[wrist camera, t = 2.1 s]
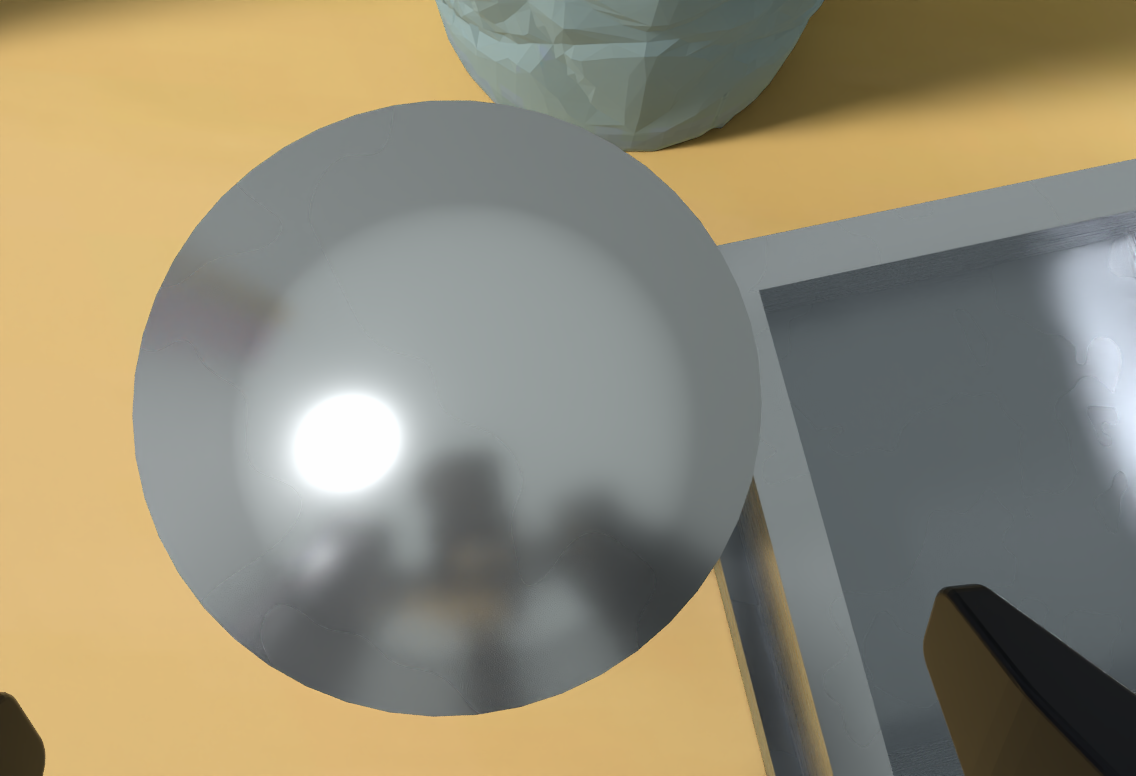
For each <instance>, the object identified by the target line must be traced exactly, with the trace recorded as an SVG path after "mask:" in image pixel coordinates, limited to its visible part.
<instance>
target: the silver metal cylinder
mask: <svg viewBox="0 0 1136 776" xmlns="http://www.w3.org/2000/svg"><path fill="white" fill-rule="evenodd" d="M761 406H762V398H761V384H760V370H759V360H758V355H757V350H756V345H755V341H754V336H753V331H752V326H751V322H750V319H749V316H748V314H747V311H746V308H745V305H744V302H743V299H742V296H741V293H740V290H739V287H738V285H737V283H736V281H735V279H734V277H733V275H732V273H731V271H730V269H729V267H728V265H727V263H726V261H725V259H724V257H723V255H722V253H721V252H720V250H719V249H718V247H717V246H716V244H715V243H714V241H713V240H712V238H711V237H710V235H709V234H708V232H707V231H706V229H705V228H704V226H703V225H702V223H701V222H700V220H699V219H698V218H697V217H696V216H695V215H694V213H693V212H692V211H691V210H690V209H689V208H688V207H687V205H686V204H685V203H684V202H683V201H682V200H681V199H680V197H679V196H678V195H677V194H676V193H675V192H674V191H673V190H672V189H671V188H670V187H669V186H668V185H666V184H665V183H664V182H663V181H662V180H661V179H660V178H659V177H657V176H656V175H655V174H654V173H653V172H652V171H651V170H650V169H648V168H647V167H646V166H645V165H643V164H642V163H640V162H639V161H637V160H636V159H635V158H633V157H632V156H630V155H629V154H627V153H626V152H624V151H623V150H621V149H620V148H619V147H617V146H616V145H614V144H612V143H610V142H608V141H606V140H604V139H602V138H601V137H599V136H597V135H595V134H593V133H591V132H589V131H587V130H585V129H583V128H581V127H579V126H576V125H573V124H571V123H568V122H565V121H563V120H560V119H557V118H555V117H552V116H549V115H547V114H543V113H539V112H535V111H531V110H527V109H522V108H518V107H514V106H510V105H503V104H495V103H486V102H478V101H426V102H418V103H410V104H402V105H394V106H390V107H386V108H382V109H378V110H374V111H370V112H366V113H362V114H358V115H354V116H352V117H349V118H346V119H344V120H341V121H338V122H336V123H333V124H331V125H328V126H325V127H323V128H320V129H318V130H316V131H314V132H312V133H310V134H308V135H307V136H305V137H303V138H301V139H299V140H297V141H295V142H293V143H291V144H290V145H288V146H286V147H284V148H282V149H281V150H280V151H278V152H277V153H275V154H274V155H272V156H271V157H270V158H268V159H267V160H265V161H264V162H262V163H261V164H260V165H258V166H257V167H255V168H254V169H252V170H251V171H250V172H249V173H248V174H247V175H246V176H244V177H243V178H242V179H241V180H240V181H239V182H238V183H237V184H236V185H234V186H233V187H232V188H231V189H230V190H229V191H228V192H227V193H226V194H224V195H223V196H222V197H221V198H220V200H219V201H218V202H217V203H216V204H215V205H214V207H213V208H212V209H211V210H210V211H209V212H208V213H207V215H206V216H205V217H204V218H203V219H202V220H201V222H200V223H199V224H198V225H197V226H196V227H195V229H194V231H193V232H192V234H191V235H190V237H189V238H188V240H187V241H186V243H185V244H184V246H183V247H182V249H181V250H180V252H179V253H178V255H177V256H176V258H175V259H174V261H173V263H172V265H171V267H170V269H169V271H168V273H167V275H166V277H165V279H164V281H163V283H162V285H161V287H160V289H159V291H158V293H157V295H156V298H155V301H154V304H153V307H152V309H151V312H150V315H149V318H148V321H147V324H146V327H145V330H144V333H143V337H142V342H141V347H140V352H139V357H138V362H137V367H136V372H135V383H134V400H133V428H134V441H135V454H136V461H137V465H138V470H139V474H140V479H141V483H142V488H143V493H144V497H145V500H146V503H147V505H148V508H149V511H150V514H151V516H152V519H153V522H154V524H155V527H156V530H157V533H158V535H159V538H160V539H161V541H162V543H163V545H164V547H165V549H166V551H167V552H168V554H169V556H170V558H171V560H172V562H173V564H174V565H175V567H176V569H177V571H178V573H179V574H180V576H181V577H182V579H183V580H184V581H185V583H186V584H187V585H188V587H189V588H190V589H191V591H192V592H193V593H194V595H195V596H196V598H197V599H198V600H199V602H200V603H201V604H202V606H203V607H204V608H205V609H206V610H207V611H208V612H209V613H210V614H211V615H212V616H213V618H214V619H215V620H216V621H217V622H218V623H219V624H220V625H221V626H222V627H223V628H224V629H225V630H226V631H227V632H228V633H229V634H230V635H231V636H232V637H233V638H234V639H235V640H237V641H238V642H239V643H241V644H242V645H243V646H245V647H246V648H247V649H248V650H250V651H251V652H252V653H254V654H255V655H256V656H258V657H259V658H260V659H261V660H263V661H264V662H265V663H267V664H268V665H270V666H271V667H273V668H275V669H277V670H279V671H280V672H282V673H284V674H286V675H287V676H289V677H291V678H293V679H294V680H296V681H298V682H300V683H302V684H303V685H305V686H307V687H310V688H312V689H315V690H317V691H320V692H322V693H325V694H328V695H330V696H333V697H335V698H338V699H340V700H343V701H345V702H349V703H353V704H357V705H361V706H366V707H370V708H374V709H378V710H382V711H386V712H392V713H403V714H413V715H423V716H456V715H478V714H483V713H489V712H495V711H500V710H506V709H511V708H517V707H522V706H525V705H528V704H531V703H534V702H537V701H540V700H543V699H546V698H549V697H553V696H556V695H559V694H562V693H564V692H566V691H568V690H570V689H572V688H574V687H576V686H578V685H581V684H583V683H585V682H587V681H589V680H591V679H593V678H595V677H597V676H599V675H601V674H603V673H604V672H606V671H607V670H609V669H610V668H612V667H613V666H615V665H617V664H618V663H620V662H621V661H623V660H624V659H626V658H627V657H629V656H630V655H632V654H633V653H635V652H636V651H638V650H639V649H640V648H641V647H642V646H643V645H645V644H646V643H647V642H648V641H649V640H650V639H651V638H653V637H654V636H655V635H656V634H657V633H658V632H660V631H661V630H662V629H663V628H664V627H665V626H666V625H668V624H669V623H670V622H671V621H672V619H673V618H674V617H675V616H676V615H677V614H678V613H679V611H680V610H681V609H682V608H683V607H684V606H685V605H686V603H687V602H688V601H689V600H690V599H691V598H692V597H693V596H694V594H695V593H696V592H697V591H698V589H699V588H700V586H701V585H702V583H703V582H704V580H705V579H706V577H707V576H708V574H709V573H710V571H711V570H712V569H713V567H714V566H715V564H716V563H717V561H718V560H719V558H720V557H721V554H722V552H723V550H724V548H725V546H726V544H727V542H728V540H729V538H730V536H731V534H732V532H733V530H734V528H735V526H736V524H737V522H738V520H739V517H740V514H741V511H742V508H743V505H744V502H745V499H746V496H747V493H748V490H749V487H750V484H751V481H752V477H753V471H754V466H755V461H756V456H757V451H758V446H759V439H760V422H761Z"/></svg>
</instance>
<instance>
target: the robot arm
mask: <svg viewBox="0 0 1136 776" xmlns="http://www.w3.org/2000/svg"><path fill="white" fill-rule="evenodd" d="M923 653H924V659H925V663H926V666H927V669H928V672H929V675H930V677H931V680H932V683H933V686H934V689H935V692H936V695H937V698H938V701H939V703H940V706H941V709H942V712H943V715H944V718H945V721H946V724H947V727H948V729H949V732H950V735H951V738H952V741H953V744H954V747H955V750H956V753H957V755H958V758H959V761H960V764H961V767H962V770H963V773H964V776H1136V694H1135V693H1133V692H1132V691H1131V690H1129V689H1128V688H1126V687H1125V686H1124V685H1122V684H1121V683H1120V682H1118V681H1117V680H1115V679H1114V678H1113V677H1111V676H1110V675H1109V674H1107V673H1106V672H1104V671H1103V670H1102V669H1100V668H1099V667H1097V666H1096V665H1095V664H1093V663H1092V662H1091V661H1089V660H1088V659H1086V658H1085V657H1084V656H1082V655H1081V654H1080V653H1078V652H1077V651H1075V650H1074V649H1073V648H1071V647H1070V646H1068V645H1067V644H1066V643H1064V642H1063V641H1062V640H1060V639H1059V638H1057V637H1056V636H1055V635H1053V634H1052V633H1051V632H1049V631H1048V630H1046V629H1045V628H1044V627H1042V626H1041V625H1039V624H1038V623H1037V622H1035V621H1034V620H1033V619H1031V618H1030V617H1028V616H1027V615H1026V614H1024V613H1023V612H1022V611H1020V610H1019V609H1017V608H1016V607H1015V606H1013V605H1012V604H1010V603H1009V602H1008V601H1006V600H1005V599H1004V598H1002V597H1001V596H999V595H998V594H997V593H995V592H994V591H993V590H991V589H989V588H988V587H986V586H983V585H981V584H966V585H957V586H948V587H944V588H942V589H941V590H940V591H939V592H938V593H937V595H936V598H935V601H934V604H933V608H932V611H931V615H930V618H929V621H928V625H927V628H926V632H925V635H924V640H923ZM44 767H45V749H44V745H43V741H42V739H41V737H40V736H39V734H38V733H37V731H36V730H35V728H34V727H33V725H32V724H31V722H30V720H29V719H28V717H27V716H26V714H25V713H24V711H23V710H22V708H21V707H20V705H19V703H18V702H17V700H16V699H15V698H14V697H13V696H12V695H10V694H8V693H6V692H0V776H43V772H44Z"/></svg>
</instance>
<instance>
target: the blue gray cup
mask: <svg viewBox="0 0 1136 776" xmlns="http://www.w3.org/2000/svg"><path fill="white" fill-rule="evenodd" d="M823 1H824V0H436V3H437V6H438V9H439V12H440V15H441V18H442V21H443V24H444V27H445V30H446V33H447V36H448V39H449V41H450V43H451V45H452V46H453V48H454V50H455V52H456V53H457V55H458V57H459V58H460V60H461V62H462V64H463V65H464V67H465V68H466V70H467V71H468V73H469V74H470V76H471V77H472V78H473V80H474V81H475V82H476V83H477V84H478V85H479V86H480V87H481V88H482V89H483V91H484V92H485V93H486V94H487V95H488V96H489V97H490V98H491V99H492V100H493V102H495V103H496V104H503V105H510V106H514V107H518V108H522V109H527V110H531V111H535V112H539V113H543V114H547V115H549V116H552V117H555V118H557V119H560V120H563V121H565V122H568V123H571V124H573V125H576V126H579V127H581V128H583V129H585V130H587V131H589V132H591V133H593V134H595V135H597V136H599V137H601V138H602V139H604V140H606V141H608V142H610V143H612V144H614V145H616V146H617V147H619V148H620V149H621V150H623V151H656V150H659V149H663V148H666V147H669V146H672V145H675V144H678V143H681V142H684V141H687V140H691V139H694V138H697V137H700V136H702V135H703V134H704V133H706V132H707V131H709V130H710V129H712V128H722V127H723V126H724V125H725V124H726V123H728V122H729V121H730V120H731V119H732V117H733V116H734V115H736V114H737V113H739V112H740V111H742V110H743V109H744V108H745V107H747V106H748V105H749V104H751V103H752V102H753V101H754V100H755V99H756V98H757V97H758V96H759V95H760V94H761V92H762V91H763V90H764V89H765V88H766V87H767V86H768V85H769V83H770V82H771V81H772V79H773V78H774V76H775V75H776V73H777V72H778V70H779V69H780V67H781V66H782V64H783V63H784V61H785V60H786V59H787V57H788V56H789V54H790V53H791V51H792V50H793V48H794V47H795V45H796V43H797V41H798V39H799V38H800V36H801V34H802V32H803V30H804V28H805V26H806V24H807V23H808V20H809V18H810V17H811V16H812V15H813V14H814V13H815V12H816V11H817V10H818V9H819V7H820V6H821V5H822V3H823Z"/></svg>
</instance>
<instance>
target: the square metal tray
mask: <svg viewBox="0 0 1136 776" xmlns="http://www.w3.org/2000/svg"><path fill="white" fill-rule="evenodd" d="M717 247H718V249H719V250H720V252H721V253H722V255H723V257H724V259H725V261H726V263H727V265H728V267H729V269H730V271H731V273H732V275H733V277H734V279H735V281H736V283H737V285H738V287H739V290H740V293H741V296H742V299H743V302H744V305H745V308H746V311H747V314H748V316H749V319H750V322H751V326H752V331H753V336H754V341H755V345H756V350H757V355H758V360H759V370H760V384H761V398H762V406H761V422H760V439H759V446H758V451H757V456H756V461H755V466H754V471H753V477H752V481H751V484H750V487H749V490H748V493H747V496H746V499H745V502H744V505H743V508H742V511H741V514H740V517H739V520H738V522H737V524H736V526H735V528H734V530H733V532H732V534H731V536H730V538H729V540H728V542H727V544H726V546H725V548H724V550H723V552H722V554H721V557H720V558H719V560H718V561H717V563H716V564H715V566H714V569H715V573H716V577H717V581H718V585H719V589H720V593H721V597H722V601H723V605H724V609H725V613H726V617H727V621H728V625H729V628H730V632H731V636H732V640H733V644H734V648H735V652H736V656H737V660H738V664H739V668H740V672H741V676H742V680H743V684H744V687H745V691H746V695H747V699H748V703H749V707H750V711H751V715H752V719H753V723H754V727H755V731H756V735H757V739H758V742H759V746H760V750H761V754H762V758H763V762H764V766H765V770H766V774H767V776H964V773H963V770H962V767H961V764H960V761H959V758H958V755H957V753H956V750H955V747H954V744H953V741H952V738H951V735H950V732H949V729H948V727H947V724H946V721H945V718H944V715H943V712H942V709H941V706H940V703H939V701H938V698H937V695H936V692H935V689H934V686H933V683H932V680H931V677H930V675H929V672H928V669H927V666H926V663H925V659H924V653H923V640H924V635H925V632H926V628H927V625H928V621H929V618H930V615H931V611H932V608H933V604H934V601H935V598H936V595H937V593H938V592H939V591H940V590H941V589H942V588H944V587H948V586H957V585H966V584H981V585H983V586H986V587H988V588H989V589H991V590H993V591H994V592H995V593H997V594H998V595H999V596H1001V597H1002V598H1004V599H1005V600H1006V601H1008V602H1009V603H1010V604H1012V605H1013V606H1015V607H1016V608H1017V609H1019V610H1020V611H1022V612H1023V613H1024V614H1026V615H1027V616H1028V617H1030V618H1031V619H1033V620H1034V621H1035V622H1037V623H1038V624H1039V625H1041V626H1042V627H1044V628H1045V629H1046V630H1048V631H1049V632H1051V633H1052V634H1053V635H1055V636H1056V637H1057V638H1059V639H1060V640H1062V641H1063V642H1064V643H1066V644H1067V645H1068V646H1070V647H1071V648H1073V649H1074V650H1075V651H1077V652H1078V653H1080V654H1081V655H1082V656H1084V657H1085V658H1086V659H1088V660H1089V661H1091V662H1092V663H1093V664H1095V665H1096V666H1097V667H1099V668H1100V669H1102V670H1103V671H1104V672H1106V673H1107V674H1109V675H1110V676H1111V677H1113V678H1114V679H1115V680H1117V681H1118V682H1120V683H1121V684H1122V685H1124V686H1125V687H1126V688H1128V689H1129V690H1131V691H1132V692H1133V693H1135V694H1136V159H1132V160H1127V161H1123V162H1118V163H1113V164H1108V165H1103V166H1099V167H1094V168H1089V169H1084V170H1079V171H1075V172H1070V173H1065V174H1060V175H1055V176H1050V177H1046V178H1041V179H1036V180H1031V181H1026V182H1022V183H1017V184H1012V185H1007V186H1002V187H998V188H993V189H988V190H983V191H978V192H974V193H969V194H964V195H959V196H954V197H949V198H945V199H940V200H935V201H930V202H925V203H921V204H916V205H911V206H906V207H901V208H897V209H892V210H887V211H882V212H877V213H873V214H868V215H863V216H858V217H853V218H848V219H844V220H839V221H834V222H829V223H824V224H820V225H815V226H810V227H805V228H800V229H796V230H791V231H786V232H781V233H776V234H771V235H767V236H762V237H757V238H752V239H747V240H743V241H738V242H733V243H728V244H723V245H719V246H717Z"/></svg>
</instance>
